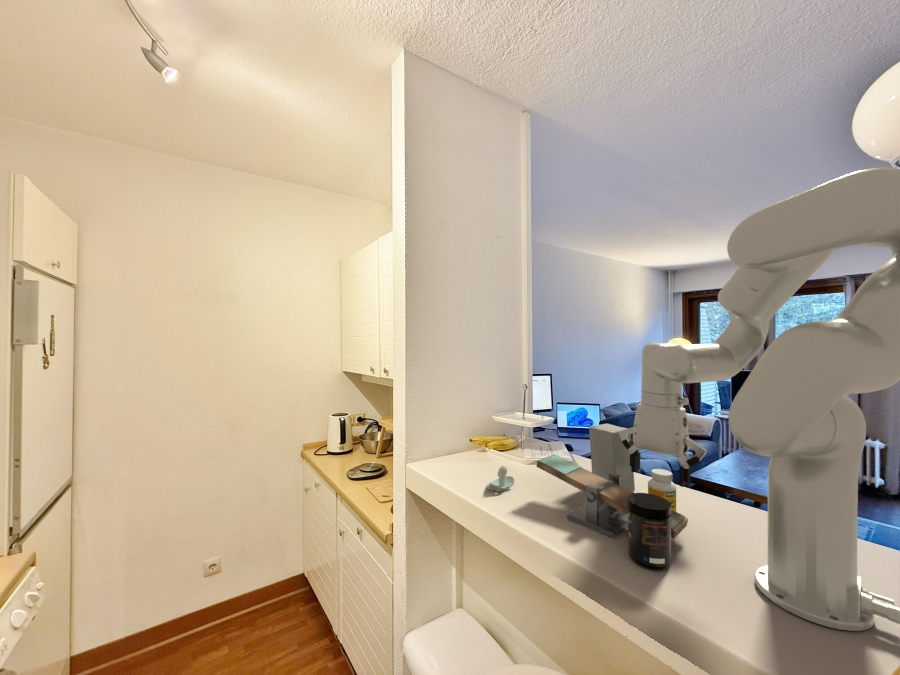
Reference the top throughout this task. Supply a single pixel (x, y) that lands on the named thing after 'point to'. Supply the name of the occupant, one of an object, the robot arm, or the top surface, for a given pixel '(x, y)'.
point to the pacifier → (501, 480)
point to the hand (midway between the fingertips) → (658, 477)
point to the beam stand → (600, 512)
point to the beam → (607, 489)
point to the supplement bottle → (663, 486)
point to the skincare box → (610, 454)
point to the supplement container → (649, 530)
